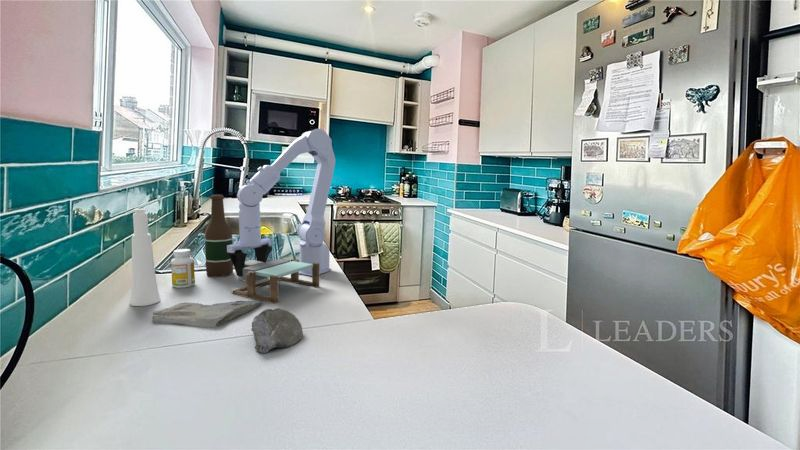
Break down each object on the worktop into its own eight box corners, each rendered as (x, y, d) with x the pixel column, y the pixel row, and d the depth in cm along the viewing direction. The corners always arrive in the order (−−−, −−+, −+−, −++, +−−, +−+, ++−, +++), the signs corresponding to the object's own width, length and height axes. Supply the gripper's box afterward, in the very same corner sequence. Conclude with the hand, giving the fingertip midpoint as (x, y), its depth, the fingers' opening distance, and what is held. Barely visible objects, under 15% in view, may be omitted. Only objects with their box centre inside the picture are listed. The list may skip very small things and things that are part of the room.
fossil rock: (146, 325, 78) (145, 314, 78) (193, 301, 93) (192, 292, 93) (227, 330, 76) (226, 319, 76) (261, 306, 91) (261, 296, 91)
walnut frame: (281, 277, 113) (281, 256, 112) (321, 285, 107) (321, 262, 106) (229, 294, 97) (229, 269, 96) (272, 304, 91) (272, 277, 90)
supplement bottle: (187, 281, 107) (185, 247, 106) (199, 284, 105) (197, 249, 103) (167, 286, 102) (166, 250, 101) (180, 289, 100) (178, 253, 99)
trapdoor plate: (280, 268, 110) (280, 258, 110) (313, 274, 105) (313, 263, 105) (241, 280, 98) (241, 268, 97) (276, 287, 93) (276, 275, 92)
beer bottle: (225, 269, 121) (222, 193, 118) (238, 273, 117) (236, 195, 114) (200, 274, 115) (197, 194, 112) (214, 278, 111) (211, 195, 107)
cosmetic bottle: (159, 296, 94) (154, 207, 91) (161, 303, 89) (156, 209, 86) (129, 300, 90) (123, 208, 88) (129, 308, 86) (123, 210, 83)
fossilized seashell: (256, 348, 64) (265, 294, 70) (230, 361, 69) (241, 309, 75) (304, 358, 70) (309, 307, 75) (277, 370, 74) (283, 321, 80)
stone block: (251, 276, 115) (251, 259, 114) (264, 278, 113) (263, 261, 112) (238, 279, 110) (237, 263, 110) (250, 282, 108) (250, 265, 108)
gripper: (259, 223, 118) (259, 266, 120) (218, 228, 105) (220, 276, 107) (276, 225, 115) (276, 269, 117) (236, 230, 102) (238, 280, 104)
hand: (250, 273), depth 111 cm, fingers open, 7 cm apart
